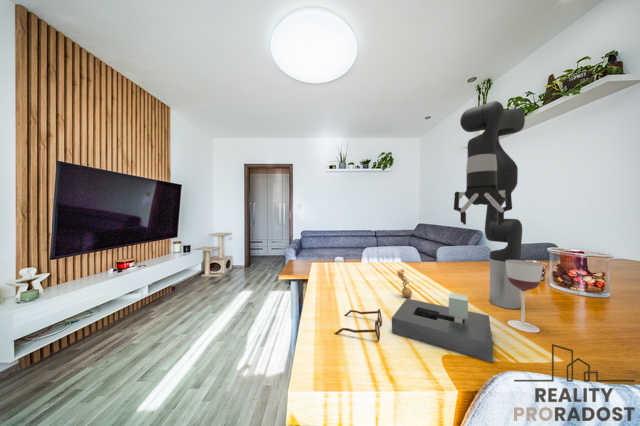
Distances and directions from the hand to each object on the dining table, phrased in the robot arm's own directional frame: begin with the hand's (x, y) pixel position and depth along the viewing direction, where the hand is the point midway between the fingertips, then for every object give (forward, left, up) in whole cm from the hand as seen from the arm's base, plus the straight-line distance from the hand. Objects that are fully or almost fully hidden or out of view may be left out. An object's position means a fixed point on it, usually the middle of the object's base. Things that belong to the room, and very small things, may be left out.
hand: (481, 224), depth 69 cm
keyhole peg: (+8, -5, -32) cm, 34 cm away
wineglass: (-10, +11, -32) cm, 36 cm away
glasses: (+19, -31, -33) cm, 49 cm away
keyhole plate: (+8, -10, -32) cm, 35 cm away
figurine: (-14, -26, -32) cm, 44 cm away
